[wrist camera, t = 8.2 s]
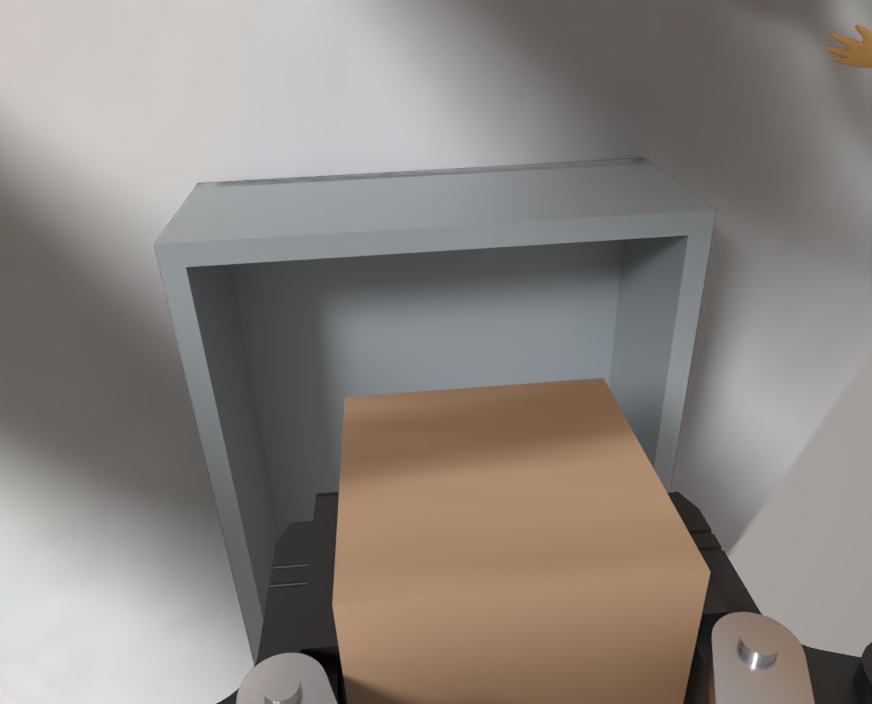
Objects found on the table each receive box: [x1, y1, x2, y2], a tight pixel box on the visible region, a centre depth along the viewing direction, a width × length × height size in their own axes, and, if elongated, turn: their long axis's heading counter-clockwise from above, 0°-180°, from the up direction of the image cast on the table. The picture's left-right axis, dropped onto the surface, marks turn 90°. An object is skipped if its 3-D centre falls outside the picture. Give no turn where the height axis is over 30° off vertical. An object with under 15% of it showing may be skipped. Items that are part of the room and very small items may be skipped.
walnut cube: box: [332, 378, 711, 704], centre depth 13 cm, size 5×5×5 cm
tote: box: [154, 158, 716, 666], centre depth 23 cm, size 13×17×5 cm
